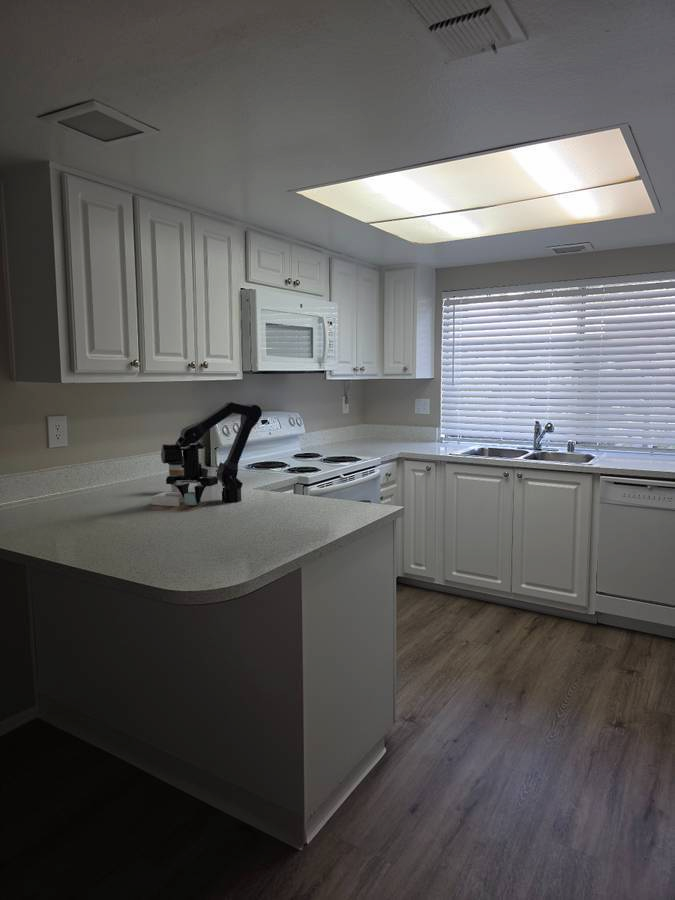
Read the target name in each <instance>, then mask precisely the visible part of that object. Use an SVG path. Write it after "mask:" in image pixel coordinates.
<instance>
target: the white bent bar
mask: <svg viewBox="0 0 675 900" xmlns="http://www.w3.org/2000/svg"><path fill="white" fill-rule="evenodd" d="M180 502H185V501H184V498H183V496H182V494H181V493H173V492H172V491H171V492H169V491H164V492H160V493H158V494H155V495H151V504H152V505H165V506H180ZM152 505H151V506H152Z"/></svg>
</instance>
